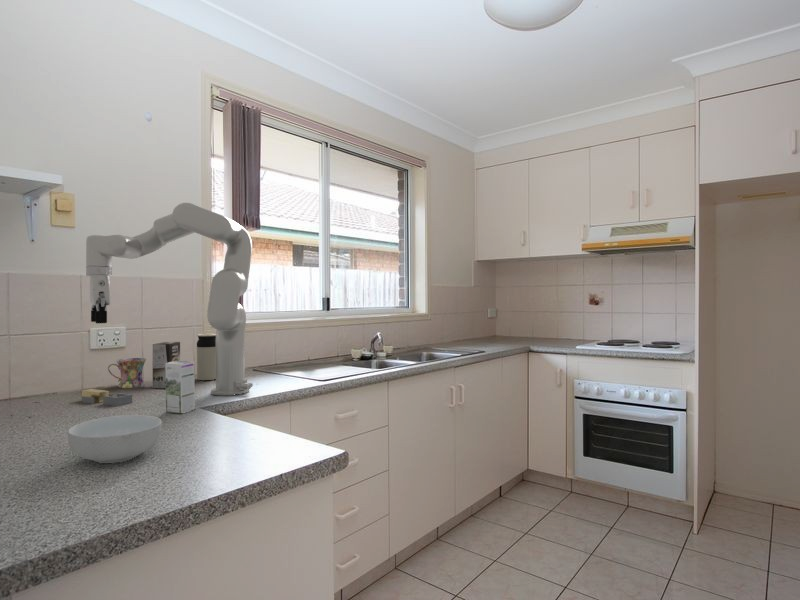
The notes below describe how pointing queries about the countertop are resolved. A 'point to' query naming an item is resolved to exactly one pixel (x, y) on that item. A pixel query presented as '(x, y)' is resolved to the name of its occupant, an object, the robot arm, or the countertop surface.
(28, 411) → the countertop surface
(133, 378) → the mug
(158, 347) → the coffee box
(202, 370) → the travel mug
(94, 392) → the latch bolt
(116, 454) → the cereal bowl
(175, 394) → the syrup box
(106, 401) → the grey tray
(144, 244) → the robot arm
